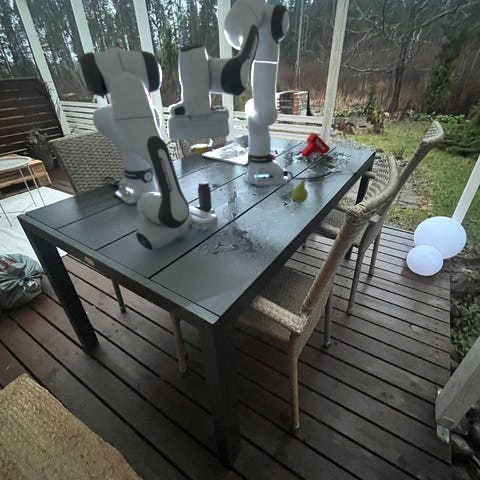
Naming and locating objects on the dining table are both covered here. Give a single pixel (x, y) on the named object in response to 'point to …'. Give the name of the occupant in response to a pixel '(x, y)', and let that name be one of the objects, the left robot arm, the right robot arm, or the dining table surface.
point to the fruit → (300, 192)
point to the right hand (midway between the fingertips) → (200, 151)
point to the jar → (204, 196)
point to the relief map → (230, 154)
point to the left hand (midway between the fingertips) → (207, 208)
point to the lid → (200, 148)
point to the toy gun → (314, 146)
